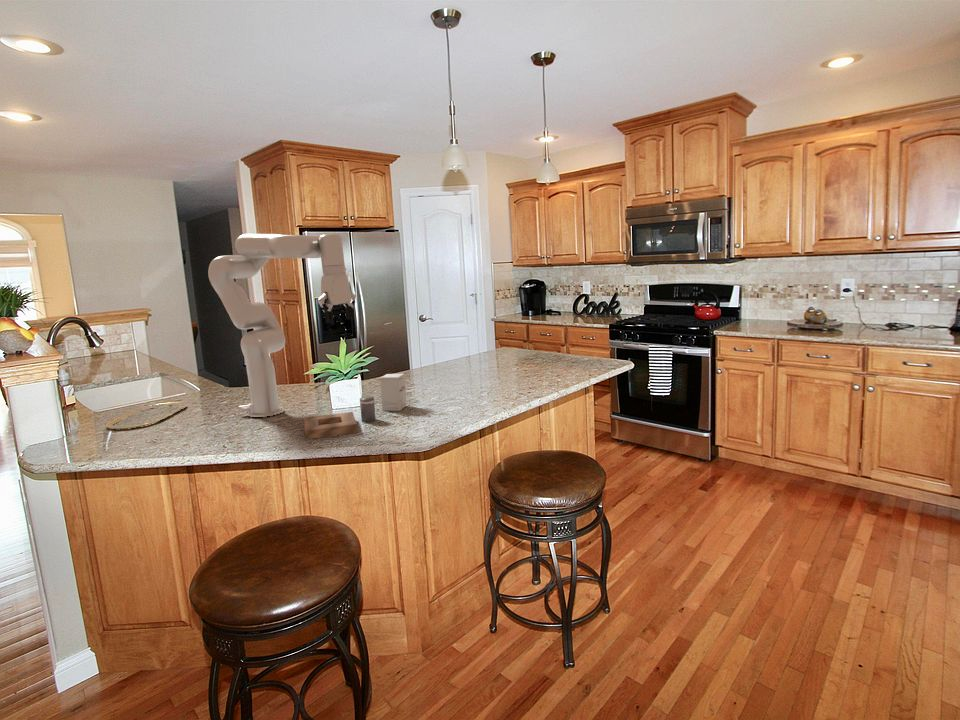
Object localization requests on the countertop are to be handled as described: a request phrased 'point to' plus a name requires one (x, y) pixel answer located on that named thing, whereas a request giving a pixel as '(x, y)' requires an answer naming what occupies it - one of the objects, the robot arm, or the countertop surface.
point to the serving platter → (138, 425)
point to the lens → (367, 409)
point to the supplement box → (393, 392)
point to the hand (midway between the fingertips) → (340, 321)
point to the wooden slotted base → (330, 425)
